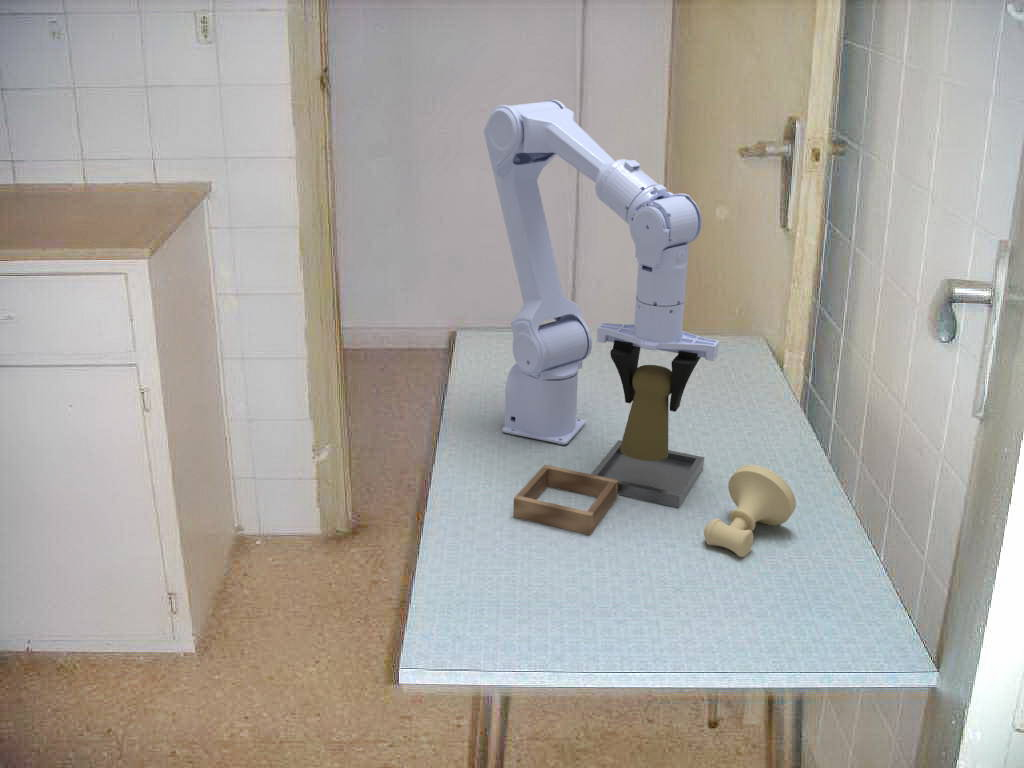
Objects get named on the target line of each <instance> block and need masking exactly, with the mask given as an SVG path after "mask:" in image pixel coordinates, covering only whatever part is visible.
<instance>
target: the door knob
mask: <svg viewBox="0 0 1024 768" xmlns="http://www.w3.org/2000/svg"><path fill="white" fill-rule="evenodd" d="M727 485H728V492H729V495H730V498H731V500H732V501H733V503H734V504H735V505H736V507H737V508H736V509H733V510H732V511H731V512H730V514H729V518H730V521H731V523H730V524H727V523H725V522H723V520H721V519H720V518H714V519H712V520H711V521H710V522H708V523H706V525H705V527H704V528H703V537H704V539H705V542H706V543H707V545H708V546H716V547H717V546H718V547H722V548H725V549H727V550H730V551H732V552H733V553H734V554H736V555H737V556H738V557H739V558H745V557H746V556H747V555H748V554H749V553H750V551H751V550H752V548H753V544H754V538H755V537H754V533H753V531H754V529H755V528H756V523H757V522H758V523H762V524H764V525H767V524H768V525H767V526H780V525H784V524H785V523H786V522H787V521H788V520H789V519H790V517H792V516H793V513H794V512H795V509H796V505H797V504H796V503H797V500H796V496H795V494H794V492H793V489H791V487H790V485H789V484H788V483H787V482H786V481H785V480H784V479H783V478H782V477H781V476H780V475H779V474H777V473H776V472H774V471H773V470H771V469H769V468H767V467H763V466H761V465H756V464H746V465H742V466H740V467H739V468H737V469H736V470H735V472H734V473H733V474H732V476H730V479H729V480H728V484H727Z"/></svg>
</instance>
